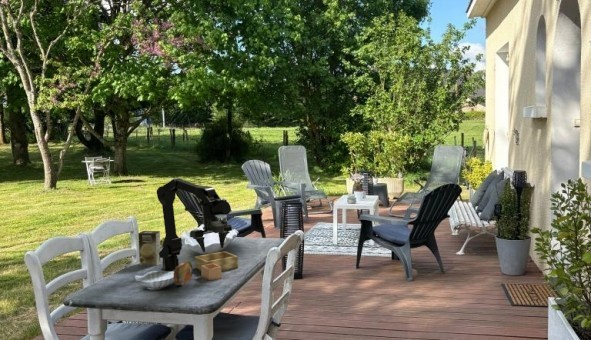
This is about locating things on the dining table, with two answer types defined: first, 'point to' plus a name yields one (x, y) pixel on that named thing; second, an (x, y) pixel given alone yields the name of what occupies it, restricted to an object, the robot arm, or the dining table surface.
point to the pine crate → (217, 260)
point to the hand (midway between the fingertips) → (213, 250)
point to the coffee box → (149, 248)
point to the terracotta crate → (211, 271)
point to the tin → (183, 273)
